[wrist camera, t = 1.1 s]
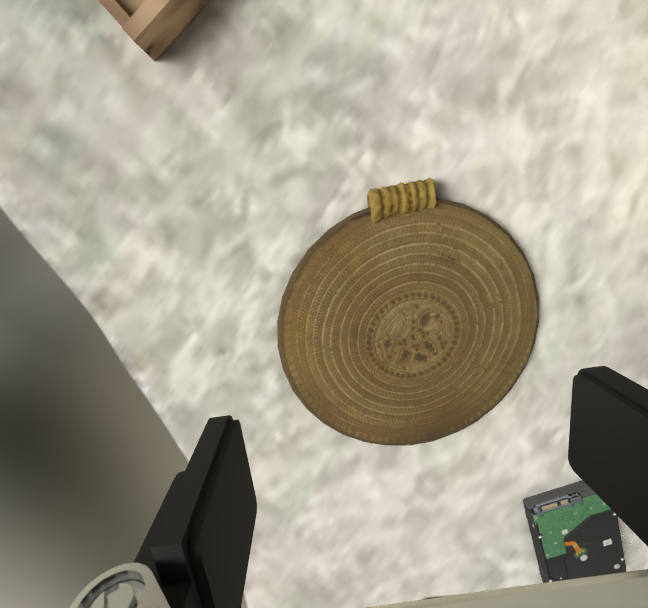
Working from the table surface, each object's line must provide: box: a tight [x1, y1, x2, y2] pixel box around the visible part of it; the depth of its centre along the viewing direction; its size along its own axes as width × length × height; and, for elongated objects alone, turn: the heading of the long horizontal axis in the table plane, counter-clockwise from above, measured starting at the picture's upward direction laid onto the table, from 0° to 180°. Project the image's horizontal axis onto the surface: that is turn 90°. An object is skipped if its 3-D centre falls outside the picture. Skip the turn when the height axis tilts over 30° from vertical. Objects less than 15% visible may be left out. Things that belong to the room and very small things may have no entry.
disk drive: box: [523, 480, 626, 583], centre depth 48 cm, size 10×3×15 cm
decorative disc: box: [277, 178, 539, 445], centre depth 40 cm, size 29×3×30 cm
